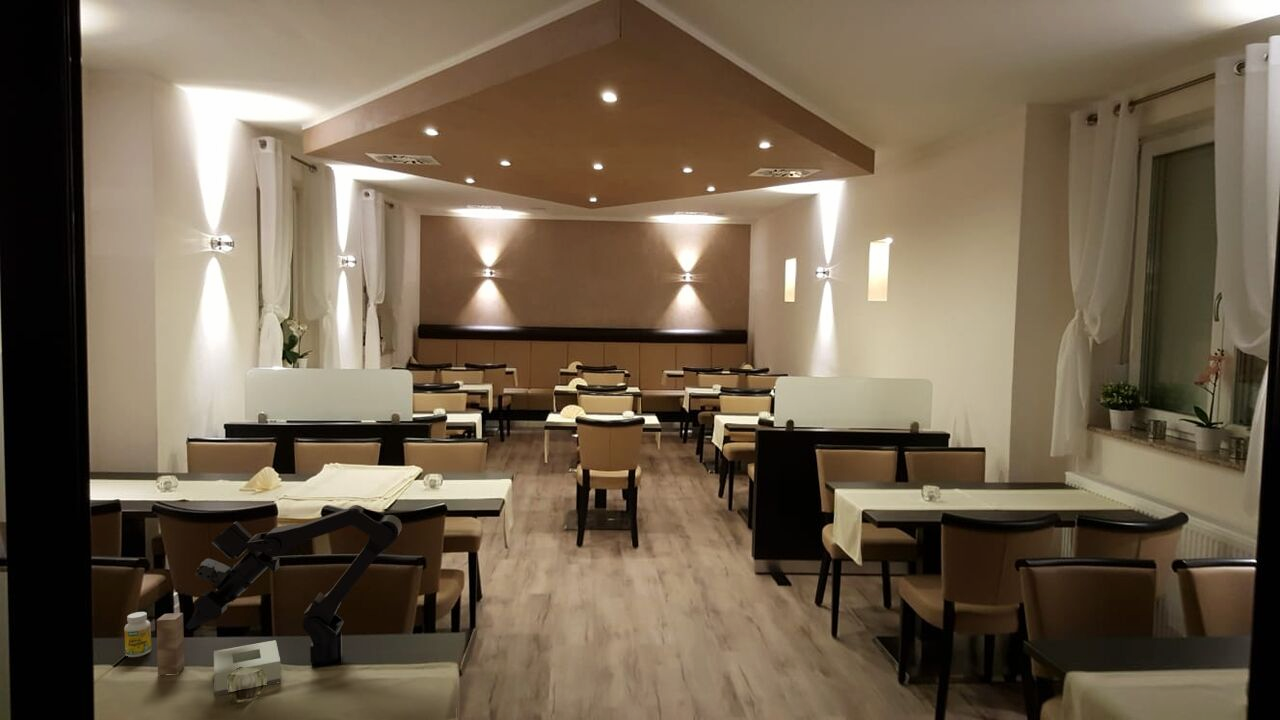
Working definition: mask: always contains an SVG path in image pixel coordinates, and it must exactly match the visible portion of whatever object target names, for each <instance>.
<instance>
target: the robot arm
mask: <svg viewBox="0 0 1280 720" xmlns="http://www.w3.org/2000/svg"><path fill="white" fill-rule="evenodd" d="M350 526H353V527H355V528H357V529H358V530H360V531H361V532H363V533H364V534H366V535H367V536H369V538H368V539H367V542H366V544H365V545H364V547H363V549H362V550H361V551H360V552H359V553H358V555H357V556H356V558H355V559H354V560H353V561H352V563H351V564H350V565H349V567H348V568H347V569H346V571H345V572H344V573H343V574H342V575H341V576H340V578H339V579H338V581H337V582H336V583H335V584H334V586H333V587H331V590H330V591H328V592H327V593H326V594H324V593H322V592H321V591H320V592H319V593H318V594H317V596H316V598H315V599H314V601H313V602H312V603H310V604H309V605H308V607H307V608H306V610H305V611H304V612H303V616H304V617H303V620H302V629H303V630H304V632H305V633H307V634H308V635H309V637H310V640H311V642H310V648H309V649H310V651H309V652H310V653H309V655H310V657H309V659H310V663H311V664H312V666H311V668H312V669H318V668H325V667H332V666H339V665H342V664H343V657H344V656H343V654H344V653H343V649H342V648H343V647H342V646H343V644H342V643H343V639H342V633H343V632H342V631H340V630H341V629H342V627H343V624H344V619H343V618H342V617H340V616H339V615H338V614H337V610H338V609H339V607H340V606H341V603H342V601H344V600H345V597H346V596H347V595H348V594H349V593H350V591H351V590H352V588H354V586H355V585H356V584H357V582H358V581H359V579H361V578H362V576H363V575H364V574H365V572H366V571H367V569H368V568H369V567H370V566H371V565H372V563H373V562H374V560H375V559H376V558H377V557H378V556H380V555H381V554H382V553H383V552H384V551H386V550H387V549H388V548H389V547H390V546H391V545H392V544H393V543H394V542H396V541H397V539H398V537H399V535H400V532H401V531H402V528H403V525H402V521H401V519H399V518H398V516H397V515H392V514H387V515H386V514H384V513H382V512H379V511H376V510H372V509H368V508H366V507H364V506H361V505H359V504H355V505H354V504H353V505H352V506H350V507H347V508H344V509H342V510H340V511H337V512H333V513H330V514H327V515H325V516H321V517H318V518H316V519H313V520H310V521H307V522H304V523H299V524H287V525H281V526H280V525H279V526H276V527H274V528H272V529H271V530H269V531H267V532H260V533H256V534H255V535H254V536H253V535H252V534H251V533H250V532H248V531H247V530H246V529H245V528H244V527H243V526H242V524H241V523H240V522H238V521H234V523H232V524H231V525H230V526H229V527H228V528H227V529H226V530H225V529H224V531H222V532H221V533H220V534H219V535H218V536H217V537H216V538H215V539H213V540H212V542H211V544H212V545H213V546H215V547H216V548H217V549H218V550H219V551H220V552H222V553H223V554H224V555H225V556H226V557H227V558H228V559H233V560H234V558H236V559H239V558H240V557H241V556H242V555H243V554H244V553H245V552H246V551H248V552H247V553H246V554H245V555H244V556H243V557H242V558H241V559H240V560H239V561H237V562H236V563H234V564H233V565H232V566H229V565H227V564H225V563H223V562H219V561H217V560H215V559H212V558H206V559H204V560H203V561H202V562H201V563H200V565H199V566H198V568H196V570H195V575H194V576H195V577H196V578H197V579H202V580H204V581H206V582H207V581H208V582H211V583H212V585H211V587H212V588H214V590H215V591H214V590H205V591H204V592H203V593H202V594H200V595H199V597H198V598H196V599H195V600H194V601H193V603H194V605H195V607H196V609H195V611H194V612H193V614H192V616H191V618H190V619H189V621H187V624H185V625H186V626H185V627H186V629H188V630H192V629H194V628H196V627H198V626H199V627H200V626H201V625H204V624H206V623H209V622H212V621H217V619H218V618H219V617H220V616H222V615H223V613H224V612H225V611H227V609H228V604H229V603H233V602H234V601H236V600H237V598H239V597H240V596H241V595H242V594H243V593H245V592H246V590H247V589H249V586H250V585H251V584H253V582H254V581H256V579H257V578H259V576H261V575H262V574H263V573H264V572H266V570H267V569H269V570H270V571H271V572H273V573H274V572H276V571H277V570H278V569H279V568H280V566H281V565H280V556H282V555H283V554H285V553H287V552H289V551H291V550H292V549H294V548H295V547H298V545H300V544H302V543H304V542H306V541H309V540H311V539H312V540H313V539H316V538H318V537H321V536H324V535H327V534H329V533H330V534H331V533H332V532H336V531H339V530H341V529H344V528H347V527H350Z"/></svg>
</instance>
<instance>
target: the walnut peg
mask: <svg viewBox="0 0 1280 720" xmlns="http://www.w3.org/2000/svg"><path fill="white" fill-rule="evenodd" d="M184 642H185V639H184V613H183V612H178V613H177V612H176V613H175V612H173V613H164V614H163V615H161V616H160V617H158V618H157V619H156V647H157V649H156V650H157V651H156V653H157V655H156V656H157V658H156V659H157V676H158V675H166V674H177V673H178V672H179V671H180V670H181V669H182V668H183V667H184V668H185V648H184V646H185V645H184V644H185V643H184ZM184 668H183V669H184ZM183 669H182V670H183ZM182 670H181V671H182ZM181 671H180V672H181ZM180 672H179V673H180ZM179 673H178V674H179ZM178 674H177V675H178Z"/></svg>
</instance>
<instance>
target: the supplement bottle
mask: <svg viewBox="0 0 1280 720" xmlns="http://www.w3.org/2000/svg"><path fill="white" fill-rule="evenodd" d="M147 615H148V614H147V612H146V611H137V612H132V613H130V614H128V615H127V616H126V620H127V624H125V626H124V629H123V630H124V653H125V656H126V657H127V656H128V657H127V658H137V657H142V656H145V655H147V654H149V653H150V652H151V651H152V632H151V631H152V630H151V629H152V627H151V622H150V620H148V616H147Z"/></svg>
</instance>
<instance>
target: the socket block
mask: <svg viewBox="0 0 1280 720" xmlns="http://www.w3.org/2000/svg"><path fill="white" fill-rule="evenodd" d="M278 649H279V648H278V644H277V640H276V639H275V640H269V641H263V642H262V641H261V642H258V643H252V644H246V645H239V646H236V647H230V648H224V649H219V650H213V673H214V674H213V677H214V685H213V686H214V697H219V696H222V695H228V694H229V693H228V690H227V676H228V674H230V673H232V672H233V671H235V670H236V669H237V668H239V667H243V668H245V667H246V668H250V667H257V668H261V669H263V670H264V671H265V672H266V676H267V683H266V684H267V686H271V684H272V685H275V684H274V683H276V684H278V683H277V682H280V681H281V682H282V680H281V678H282V677H281V676H282V675H281V658H280V654H279V653H280V652H279V650H278Z"/></svg>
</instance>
